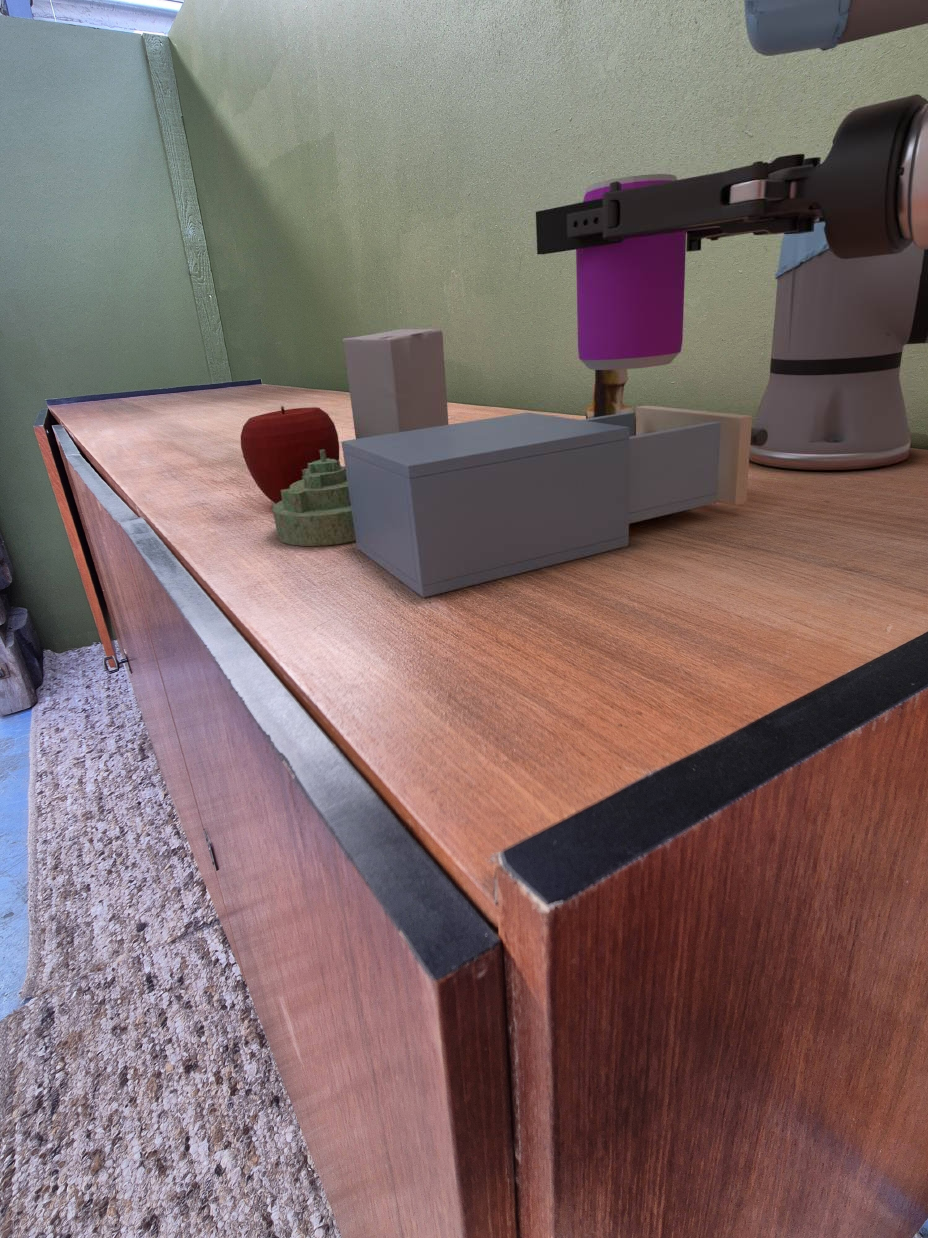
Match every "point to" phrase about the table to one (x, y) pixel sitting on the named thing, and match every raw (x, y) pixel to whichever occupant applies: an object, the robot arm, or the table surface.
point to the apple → (286, 446)
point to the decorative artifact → (316, 507)
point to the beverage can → (631, 294)
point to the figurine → (609, 394)
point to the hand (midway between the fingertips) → (574, 233)
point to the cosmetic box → (396, 381)
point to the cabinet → (488, 497)
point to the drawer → (685, 458)
